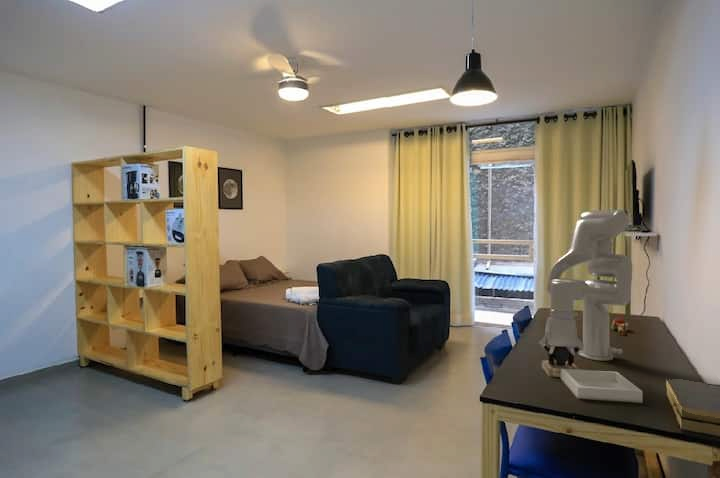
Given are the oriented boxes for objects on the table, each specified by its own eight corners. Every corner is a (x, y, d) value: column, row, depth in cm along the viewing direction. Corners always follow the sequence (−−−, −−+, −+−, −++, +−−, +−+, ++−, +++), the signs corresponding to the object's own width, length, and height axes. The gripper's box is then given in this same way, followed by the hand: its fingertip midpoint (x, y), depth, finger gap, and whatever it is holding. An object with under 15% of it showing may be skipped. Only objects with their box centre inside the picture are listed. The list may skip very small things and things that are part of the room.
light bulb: (549, 370, 156) (549, 343, 156) (563, 369, 156) (564, 342, 156) (557, 375, 150) (557, 347, 150) (572, 374, 151) (573, 346, 151)
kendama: (632, 339, 209) (627, 327, 225) (630, 326, 208) (625, 315, 224) (614, 340, 212) (611, 328, 228) (612, 328, 212) (609, 316, 228)
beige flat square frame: (571, 368, 158) (571, 362, 158) (580, 378, 147) (581, 371, 147) (542, 366, 159) (542, 360, 159) (549, 376, 149) (549, 369, 149)
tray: (616, 382, 144) (617, 371, 144) (642, 402, 126) (642, 391, 126) (560, 378, 147) (560, 368, 147) (577, 398, 129) (577, 387, 129)
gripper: (583, 314, 155) (582, 362, 156) (534, 312, 158) (533, 360, 159) (590, 318, 148) (590, 369, 148) (539, 315, 151) (538, 366, 151)
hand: (560, 364), depth 153 cm, fingers closed on light bulb, 5 cm apart
